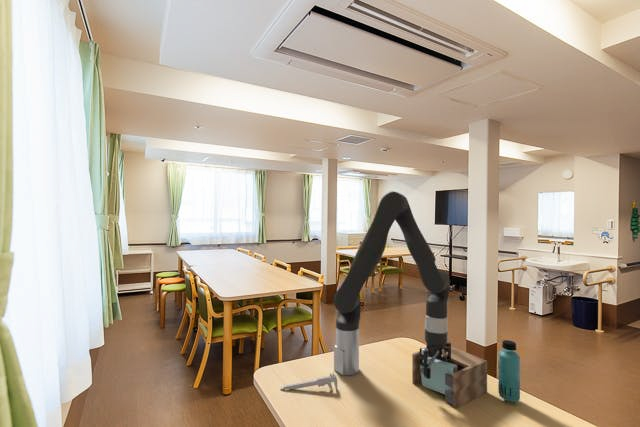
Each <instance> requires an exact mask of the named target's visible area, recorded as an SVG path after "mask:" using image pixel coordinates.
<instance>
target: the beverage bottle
mask: <svg viewBox="0 0 640 427" xmlns="http://www.w3.org/2000/svg"><path fill="white" fill-rule="evenodd" d="M501 347H502V350H500V351H498V360H497V361H498V363H497V364H498V368H497V369H498V383H497V384H498V385H497V386H498V388H497V389H498V395H499V397H500V398H501V399H503V400H506V401H508V402H512V403H513V402H519V401H520V399H521V382H520V381H521V378H520V376H521V370H520V369H521V368H520V367H521V365H520V363H521V357H520V355H519V354H518V353H517V352H516V351H517V343H516V342H515V341H512V340H509V339H504V340H502V344H501Z"/></svg>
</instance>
